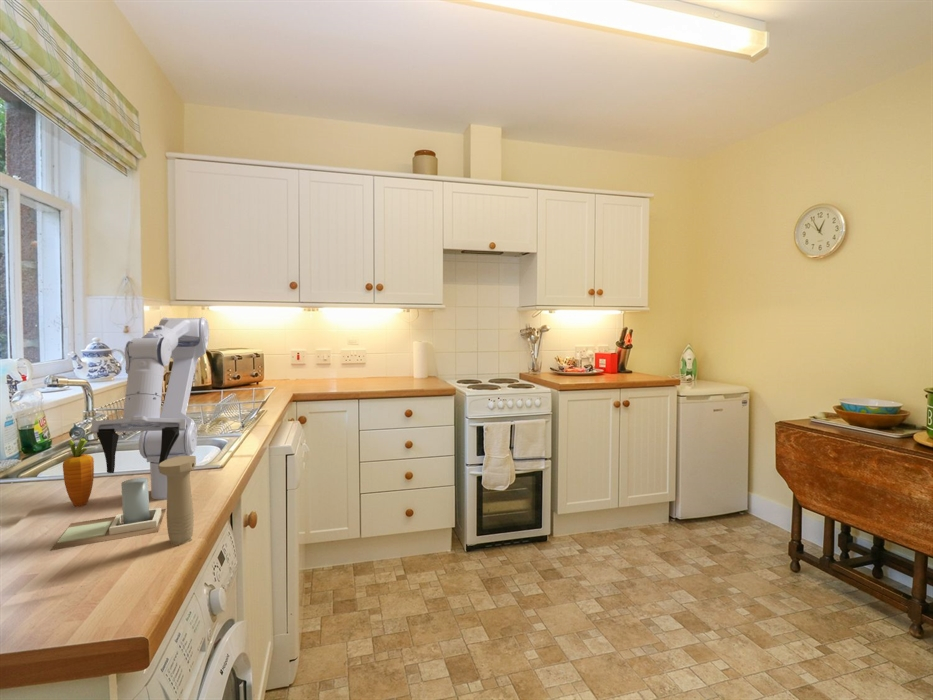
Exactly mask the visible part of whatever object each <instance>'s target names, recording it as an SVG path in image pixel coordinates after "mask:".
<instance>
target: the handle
mask: <svg viewBox="0 0 933 700" xmlns="http://www.w3.org/2000/svg"><path fill="white" fill-rule="evenodd" d="M196 465H197V457H196V455H190V456H178V457H174V458H170V459H167V460H165V461H163V462H161V463H160V464H159V473H161V474H163V475H166V476H167V499H166V526H167V535H168V539H169V542H170V546H183V545H184V544H188V543H190V542H192V541H193V538H192V536H193V535H194V525H195V524H194V523H195V522H194V520H195V519H194V506H193V498H192V496H193V495H192V486H191V478H190V477H191V476H190V475H191V471H193V470H194V469H195V468H196Z"/></svg>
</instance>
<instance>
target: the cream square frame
mask: <svg viewBox="0 0 933 700" xmlns="http://www.w3.org/2000/svg"><path fill="white" fill-rule="evenodd" d="M161 509H162V507H155V508H149V516H150V517H151V516H154V517H153V520H149V521H143V522H137V523H131V524H124V525H120V523H121V521H123V512H122V513H118V514H116V517H115V516H114V517H115V519H114V521H113V523H112V524H111V526H110V528H109V535H112V534H118V533H124V532H130V531H136V530H142V529H148V528H154V527H157V525H158V522H159V519H160V516H161Z"/></svg>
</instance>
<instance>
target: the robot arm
mask: <svg viewBox="0 0 933 700" xmlns="http://www.w3.org/2000/svg"><path fill="white" fill-rule="evenodd" d="M209 325H210V324H209V322H208V320H207V319H206V318H205V317H175V318H174V317H163V318H161V319H160V320H159V322H158V324H157V325H154V326H153V328H152V329H151V330H149V332H147V333H146V334H144V335H143V336H142V337H133V338H132V339H131V340H128V341H127V342H126V344H125V347H124V359H125V368H124V369H125V373H126V375H127V381H126V389H125V397H124V404H123V405H124V407H123V408H124V409H123V415H122V418H114V419H102V420H91V425H90V433H92V434H96V436H97V438H98V441H99V443H100V444H101V447H102V450H103V453H104V458H105V462H106V473H108V474H114V473H115V467H116V453H117V447H118V441H119V434H118V432H119V433H121V432H122V433H123V432H141V434H140V436H139V440H138V451H139V454H140V456H142V458H143V459H146V462H147V463H149V470H150V490H151V491H150V492H151V493H150V494H151V495H150V496H151V498H152V499H155V500H167V476H166V475H163V474H161V473H159V464H160V463H161V462H163V461H165V460H167V459H170V458H174V457H178V456H193V454H194V453H195V452H196V448H197V444H198V443H197V442H198V438H197V436H198V428H197V425H196V422H195V420H194V419H193V418H191V417H190V416H188V415H187V413H188V412H187V411H188V407H189V401H190V397H191V393H192V392H191V391H192V386H193V382H194V381H193V380H194V376H195V371H196V367H197V363H198V359H199V358H201V357H202V356H204V355H206V353H207V350H208V345H209V339H210V328H209V327H210V326H209ZM171 359H172V361H173V362H172V366H171V370H170V374H169V379H168V384H167V388H166V391H165V392H166V393H165V396H164V400H163V403H162V397H163V396H162V395H163V384H164V375H165V374H164V373H165V367H168V366H169V365H170V361H171ZM161 408H162V409H161ZM116 432H117V433H116Z"/></svg>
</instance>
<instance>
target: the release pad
mask: <svg viewBox="0 0 933 700" xmlns="http://www.w3.org/2000/svg"><path fill="white" fill-rule="evenodd" d="M111 523H112V521H107V522H101V523H94V524H88V525H82V526H75V527H69V526H68V527H69V528H68V527H67V528H68V529H67V528H66V529H67V530H66V529H65V530H64V532H65V533H64V532H63V533H64V534H63V533H62V534H63V535H61V536H62V537H61V536H60V537H61V538H60V537H59V538H60V539H59V538H58V540H57V541H58V542H57V541H56V542H57V543H62V542H68V541H74V540H80V539H86V538H91V537H97V536H103V535H105V534H106V532H107V530H108V529H109V527H110V525H111Z"/></svg>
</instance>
